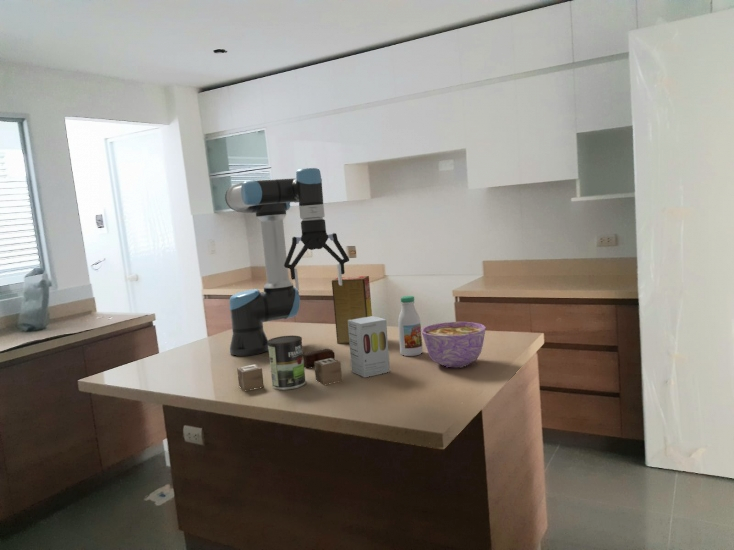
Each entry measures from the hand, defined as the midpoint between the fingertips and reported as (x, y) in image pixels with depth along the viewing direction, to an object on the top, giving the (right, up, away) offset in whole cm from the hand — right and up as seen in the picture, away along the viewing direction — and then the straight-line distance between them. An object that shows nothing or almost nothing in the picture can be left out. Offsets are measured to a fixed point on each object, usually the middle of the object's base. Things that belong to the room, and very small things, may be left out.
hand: (319, 287), depth 174 cm
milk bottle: (+30, -24, +19) cm, 43 cm away
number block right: (+3, -28, -4) cm, 29 cm away
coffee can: (-9, -30, -5) cm, 31 cm away
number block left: (-20, -30, -4) cm, 37 cm away
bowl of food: (+43, -25, +1) cm, 49 cm away
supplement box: (+16, -27, +1) cm, 31 cm away
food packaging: (+11, -22, +45) cm, 52 cm away
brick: (-1, -27, +15) cm, 31 cm away
